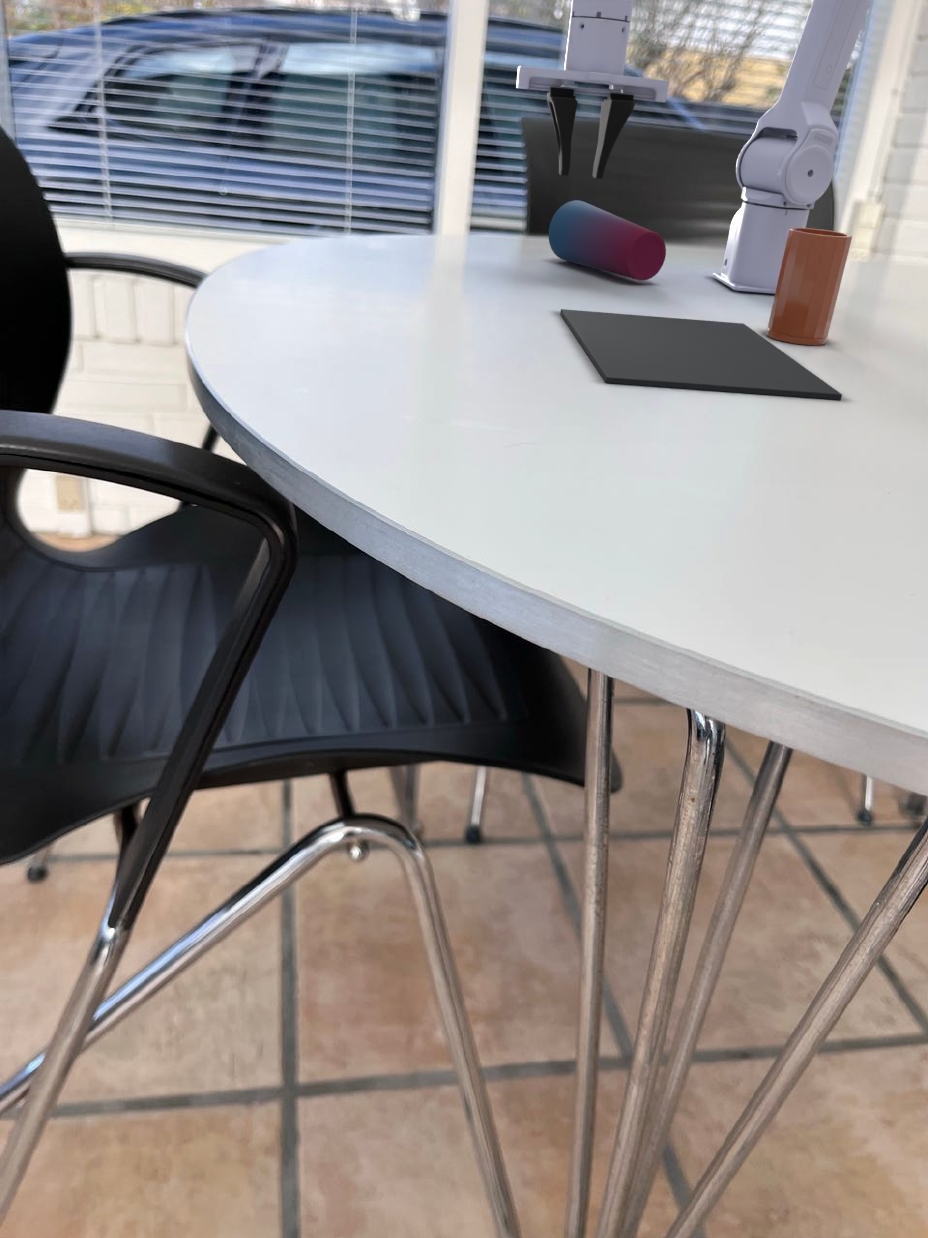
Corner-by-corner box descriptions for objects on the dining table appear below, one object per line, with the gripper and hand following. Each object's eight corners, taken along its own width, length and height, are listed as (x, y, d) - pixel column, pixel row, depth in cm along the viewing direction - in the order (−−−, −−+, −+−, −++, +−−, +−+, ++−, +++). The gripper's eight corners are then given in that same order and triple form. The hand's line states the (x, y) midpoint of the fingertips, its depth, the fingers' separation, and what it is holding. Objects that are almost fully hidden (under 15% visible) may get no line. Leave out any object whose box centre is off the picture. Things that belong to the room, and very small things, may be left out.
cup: (673, 279, 112) (599, 252, 124) (672, 215, 109) (595, 193, 120) (622, 296, 111) (551, 267, 122) (618, 232, 107) (545, 208, 118)
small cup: (758, 329, 94) (781, 225, 89) (813, 334, 94) (838, 230, 90) (777, 342, 89) (801, 233, 85) (834, 347, 89) (861, 238, 85)
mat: (560, 313, 92) (560, 308, 92) (742, 327, 94) (743, 323, 94) (606, 382, 71) (606, 376, 71) (841, 399, 73) (842, 394, 72)
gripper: (528, 10, 92) (512, 172, 99) (685, 26, 94) (659, 186, 100) (521, 14, 99) (506, 167, 105) (667, 29, 100) (644, 179, 106)
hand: (580, 176), depth 103 cm, fingers open, 3 cm apart
